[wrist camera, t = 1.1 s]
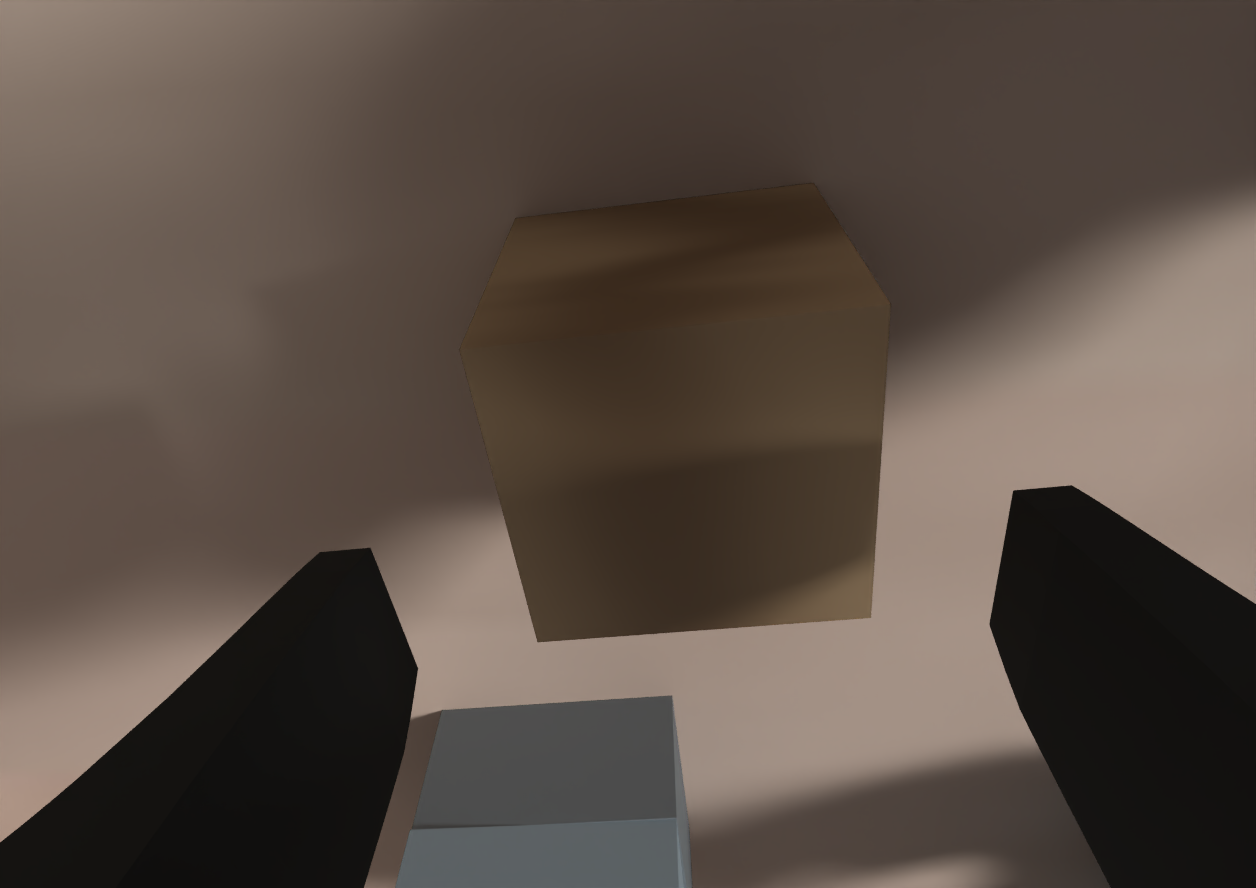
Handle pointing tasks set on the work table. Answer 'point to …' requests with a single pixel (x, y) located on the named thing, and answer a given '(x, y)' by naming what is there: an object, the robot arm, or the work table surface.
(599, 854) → the tower middle
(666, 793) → the tower base
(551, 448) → the walnut cube
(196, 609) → the work table surface
